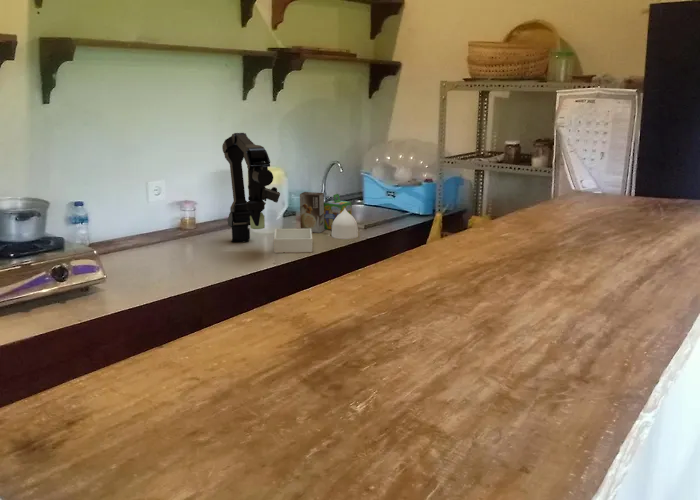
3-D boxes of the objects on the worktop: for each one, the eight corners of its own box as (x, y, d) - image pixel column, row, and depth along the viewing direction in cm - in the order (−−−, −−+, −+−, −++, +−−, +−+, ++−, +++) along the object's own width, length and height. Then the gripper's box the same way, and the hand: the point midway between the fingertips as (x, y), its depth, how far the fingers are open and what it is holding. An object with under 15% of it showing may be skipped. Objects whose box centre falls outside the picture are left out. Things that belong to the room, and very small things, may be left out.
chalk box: (341, 231, 287) (341, 197, 283) (323, 229, 291) (323, 195, 287) (352, 227, 294) (352, 193, 291) (334, 225, 299) (334, 192, 295)
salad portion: (250, 229, 247) (249, 213, 245) (250, 226, 252) (250, 210, 250) (264, 229, 247) (263, 213, 246) (265, 226, 252) (264, 210, 251)
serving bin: (274, 252, 252) (273, 239, 251) (275, 241, 269) (275, 228, 268) (312, 252, 254) (312, 238, 252) (311, 241, 270) (311, 228, 269)
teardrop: (353, 232, 286) (353, 204, 283) (361, 238, 276) (362, 209, 273) (328, 233, 283) (328, 205, 280) (335, 240, 273) (335, 210, 270)
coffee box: (325, 229, 290) (325, 192, 286) (320, 233, 284) (320, 195, 280) (305, 228, 292) (304, 191, 288) (299, 231, 286) (299, 193, 282)
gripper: (278, 185, 237) (278, 229, 241) (279, 178, 255) (280, 218, 259) (245, 186, 236) (247, 229, 240) (249, 178, 254) (250, 219, 258)
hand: (257, 224), depth 249 cm, fingers closed on salad portion, 5 cm apart
